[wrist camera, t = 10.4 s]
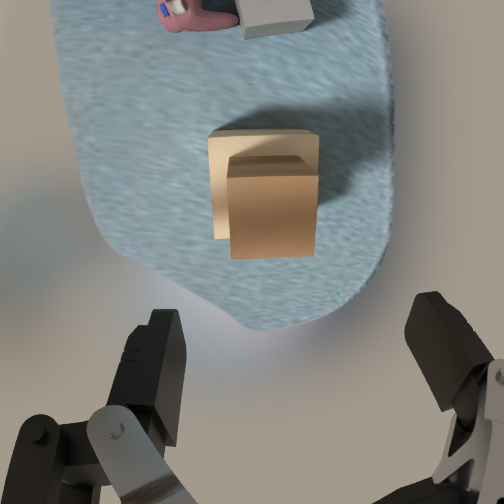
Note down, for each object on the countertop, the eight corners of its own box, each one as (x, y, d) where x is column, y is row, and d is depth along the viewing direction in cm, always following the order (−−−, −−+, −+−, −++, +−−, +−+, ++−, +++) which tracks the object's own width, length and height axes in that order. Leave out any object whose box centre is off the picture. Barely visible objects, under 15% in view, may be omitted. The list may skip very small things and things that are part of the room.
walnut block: (229, 157, 21) (226, 178, 16) (298, 155, 22) (318, 175, 16) (232, 221, 24) (231, 259, 18) (296, 218, 24) (313, 255, 19)
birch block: (212, 130, 25) (207, 137, 21) (304, 129, 25) (319, 135, 21) (218, 215, 29) (214, 239, 24) (302, 212, 29) (314, 235, 25)
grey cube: (231, -7, 19) (230, -28, 15) (288, -15, 19) (299, -35, 14) (244, 40, 21) (245, 27, 17) (301, 32, 21) (314, 18, 17)
